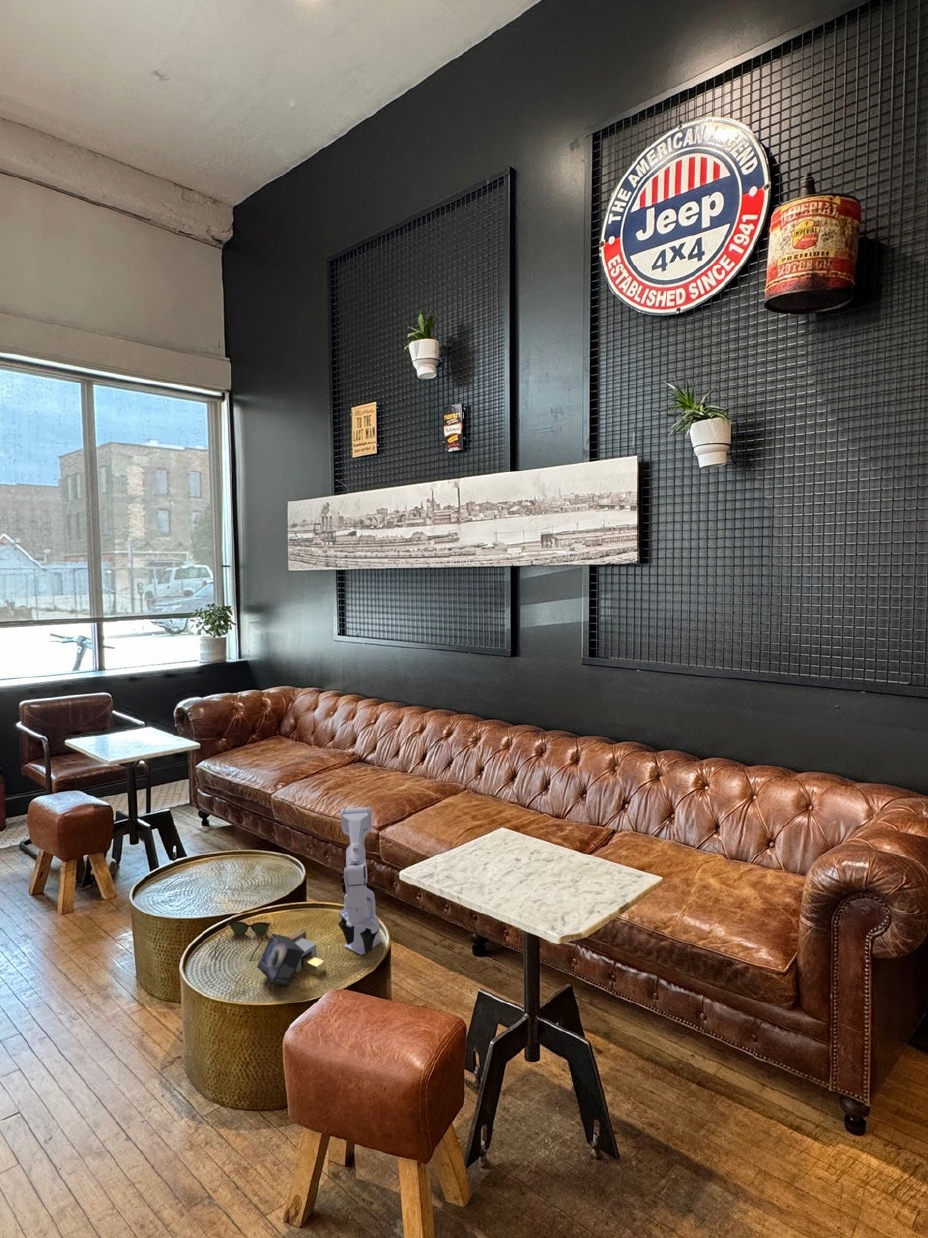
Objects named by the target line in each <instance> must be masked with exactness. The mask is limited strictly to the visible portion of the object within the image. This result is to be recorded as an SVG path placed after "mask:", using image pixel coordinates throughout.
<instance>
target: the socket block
mask: <svg viewBox="0 0 928 1238" xmlns="http://www.w3.org/2000/svg"><path fill="white" fill-rule="evenodd" d="M294 942H295V943H296V944H297V945H298V946H299V947H300V948H301V949H303V950H304V953H303V955H302V957H303V956H304V955H306V954H310V955H312V956H314V957H316V958H318V954H317V953H318V950H317V943H315V942H312V941H310V940H308V939H307V938H306V939H304V938H301V937H300V938H299V939H297V940H296V941H294ZM301 971H302V968H301V959H300V961H299V963H298V966H297V968H296V970H295V972H294V974H298V973H300V972H301Z"/></svg>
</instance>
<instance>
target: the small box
mask: <svg viewBox="0 0 928 1238" xmlns="http://www.w3.org/2000/svg"><path fill="white" fill-rule="evenodd" d="M303 953H304V950H303V949H301V948H300V947H299V946H298V945H297V944H296V943H295V942H293V941H292V940H291V939H290V938H289V936H286V935H282V934H278V933H272V934H271V936H270V938H269V940H268V943H267V944H266V947H265V949H264V951H263V953H262V955H261V958H260V960H259V961H258V964H257V966H256V968H257V969H259V970H260V972H261V973H262V974H264V976H265V977H266V978H267V979H268V980H269V981H270V982H271V983H273V984H277V985H282V986H286V987H289V985H290V983H291V981H292V979H293V977H294V974H295V970H296V968H297V966H298V963H299V961H300V959H301V957H302V955H303Z"/></svg>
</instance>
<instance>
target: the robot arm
mask: <svg viewBox="0 0 928 1238" xmlns="http://www.w3.org/2000/svg"><path fill="white" fill-rule="evenodd" d="M372 817H373V816H372V808H371V806H364V807H351V808H343V807H342V809H340V826H341V831H342V834H343V835H347V836H348V837H349V844H350V845H349V846H347V848H346V851H345V852H346V853H345V856H346V857H345V867H344V870H343V878H344V881H343V883H344V884H345V885H344V886H345V895H344V897H343V909H342V910H340V911H338V918H339V919H340V921H338V922H337V923H338V926H339V928H340V929H341V931H342V933H343V936H344V938H345V942H346V943H345V944H344V948H346V949H348V950H350V951H353V952H354V953H357V954H358V955H361V956H362V955H364V954H369V953H370V952H372V950H373V948H375V947H376V946H377V945H379V944H381V943H382V942H383V939H381V931H380V930H381V929H380V928H381V927H380V920H379V917H378V916H377V914H376V912H377V911H376V899H375V893H374V892H373V890H371V889H370V888H368V887H367V883H368V867H367V862H366V847H365V839H366V835H368V834H369V833H372V829H373V827H372V825H373V821H372V820H373V818H372Z"/></svg>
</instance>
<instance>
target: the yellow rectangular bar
mask: <svg viewBox="0 0 928 1238" xmlns="http://www.w3.org/2000/svg"><path fill="white" fill-rule="evenodd" d="M325 965H326V964H325V960H322V959H321V958H318V957H317V958H316V957H314V956H312V955H310V954H306V955H304V956H303V957H301V968H302V969H303V971H306V972H308V973H311V974H313V975H315V976H319V975H320V974H322V973H323V972H324V971H325V970H326V967H325Z"/></svg>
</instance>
